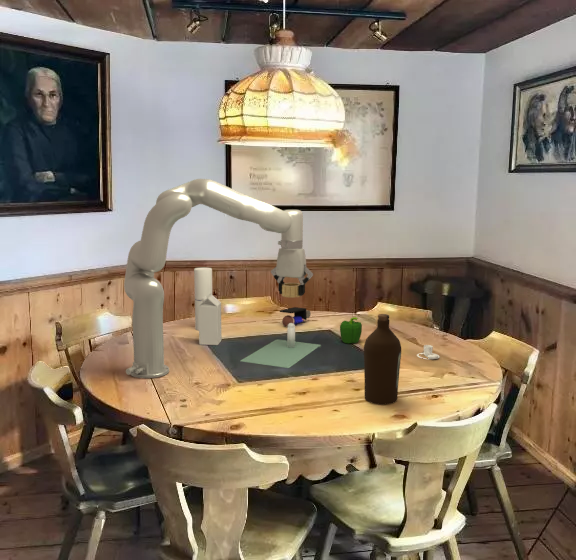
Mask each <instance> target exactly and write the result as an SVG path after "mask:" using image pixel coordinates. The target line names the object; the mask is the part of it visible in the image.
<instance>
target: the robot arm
mask: <svg viewBox="0 0 576 560" xmlns="http://www.w3.org/2000/svg"><path fill="white" fill-rule="evenodd" d="M198 205H202V206H206V207H209V208H210V209H213V210H215V211H218V212H220V213H223V214H225V215H227V216H228V217H231V218H235V219H238V220H241V221H246V222H250V223H254V224H256V225H257V224H258V225H259V228H261V229H262V230H264V231H266V232H270V233H276V234H281V237H280V238H281V239H280V240H278V241H277V245H278V246H280V247H279V248H278V251H277V258H276V266H275V267H274V268H273V269H271V270H270V273H271V275H272V276H273V278H274V279H275V280H276V282H277V284H278V286H277V288H278V292H279V293H278V295H282V284H284V283H285V281H284V280H285V278H291V279H292V278H293V279H298V281H299V282H298V283H299V284H300V285H299V296H300V297H302V296H304V295H305V293H306V284H307V283H308V282H309V280H310V279H311V278H312V277H313V276H314V273H313V272H312V271H311V269H309V268H308V267H307V258H306V251H305V248H304V247H303V236H304V234H303V232H304V230H303V225H304V224H303V223H304V222H303V221H304V215H303V214H304V213H303V212H302V210H299V209H284V210H282V209H280V208H278V207H276V206H275V205H271V204H270V203H267V202H264V201H263V200H259V199H256V198H254V197H252V196H250V195H246V194H245V193H242V192H240V191H238V190H235V189H234V188H231V187H229V186H227V185H224V184H222V183H220V182H218V181H215V180H214V179H209V178H196V179H193V180H190V181H187V182H185V183H183V184H181V185H180V184H179V185H177V186H175V187H172V188H170V189H169V188H168V189H167V190H165V191H162V192H161V193H160V194H158V197H156V201H155V205H153V206H152V207H151V208H150V210H149V211H148V213H147V214H146V217H145V220H144V222H143V227H142V232H141V236H140V240H138V241H136V242H134V244H133V245H132V246H131V248H130V250H129V252H128V255H127V261H126V269H125V275H124V282H123V288H124V292H125V294H126V296H127V297H128V298H129V299H130V300H132V301H133V306H132V314H131V316H132V318H131V319H132V320H131V321H132V341H133V345H132V346H133V361H132V366H130V367H128V368H126V370H125V373H126V375H128V376H129V375H130V376H131V377H134V378H139V379H153V378H160V377H163V376H165V375H167V374H169V372H170V367H169V366H168V365H166V364H165V347H164V342H165V341H164V302H165V291H164V288H163V285H162V284H161V282H160V281H159V280H158V279H157V278H155V273H157V272H160V271H161V270H162V269H163V268H164V267H165V265H166V261H167V254H168V247H169V241H170V236H171V232H172V229H173V227H174V225H175V224H176V223H177V222H178V221H179V220H180V219H183V218H185V217H187V215H189V214H190V212H191V211H192V208H193V207H196V206H198ZM305 276H306V277H305Z"/></svg>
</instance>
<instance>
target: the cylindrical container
mask: <svg viewBox="0 0 576 560" xmlns="http://www.w3.org/2000/svg"><path fill="white" fill-rule="evenodd" d="M193 269H194V270H193V273H194V275H193V280H194V282H193V283H194V285H193V286H194V316H195V319H194V321H195V322H194V324H195V325H194V326H195V328H194V329H195V330H196V331H198V332H199V305H200V304H201V303H202V301H201V299H202V298H204V297H205V296H206V298H208V295H209V294H210V293H211V292H212V293H213V268H212V267H195V268H193Z"/></svg>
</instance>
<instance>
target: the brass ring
mask: <svg viewBox="0 0 576 560" xmlns="http://www.w3.org/2000/svg"><path fill="white" fill-rule="evenodd" d="M299 285H300V282H284V284H282V294H281V297H283V298H293V299H294V298H300V297H301V296H299Z"/></svg>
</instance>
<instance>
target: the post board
mask: <svg viewBox="0 0 576 560" xmlns="http://www.w3.org/2000/svg"><path fill="white" fill-rule="evenodd" d="M286 328H287V330H286V332H287V333H286V334H287V336H286V337H287V338H286V339H287V340H286V339H274V340H273V341H271V342H269V343H267V344H266V345H264V346H262V347H261V348H259V349H258V350H256V351H254V352H253V353H251V354H249V355H246V357H244V358H243V359H241V360H240V362H241V363H243V362H244V363H249V364H256V365H258V364H259V365H265V366H272V367H277V368H285V369H289V368H291V367H292V366H294V365H296V363H298V362H299V361H301V360H302V359H304V358H305V357H306V356H308V355H309V354H311V353H313V351H315V350H316V349H318V348H322V345H321V344H317V343H309V342H303V341H301V342H300V341H296V324H293V323H289V324H288V326H287V327H286Z"/></svg>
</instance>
